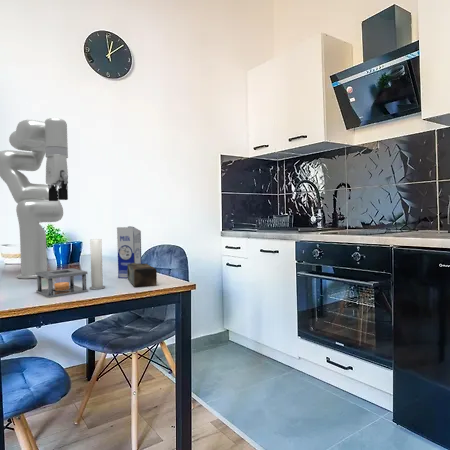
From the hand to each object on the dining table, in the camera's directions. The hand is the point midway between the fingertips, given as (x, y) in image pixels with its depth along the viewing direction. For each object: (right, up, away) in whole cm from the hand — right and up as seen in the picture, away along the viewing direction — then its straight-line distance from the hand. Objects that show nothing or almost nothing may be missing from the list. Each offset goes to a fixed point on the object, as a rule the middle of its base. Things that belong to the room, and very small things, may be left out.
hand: (58, 200), depth 139 cm
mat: (+18, -30, -11) cm, 37 cm away
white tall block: (+18, -30, -11) cm, 37 cm away
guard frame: (+8, -31, -16) cm, 36 cm away
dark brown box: (+31, -30, -2) cm, 43 cm away
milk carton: (+24, -30, +11) cm, 40 cm away
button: (+9, -30, -16) cm, 35 cm away
